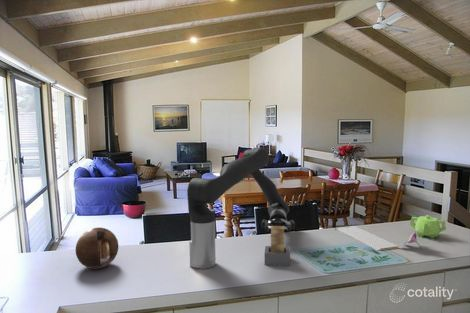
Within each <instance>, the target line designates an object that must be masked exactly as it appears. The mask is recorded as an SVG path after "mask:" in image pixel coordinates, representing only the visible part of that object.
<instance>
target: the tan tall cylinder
mask: <svg viewBox="0 0 470 313" xmlns="http://www.w3.org/2000/svg"><path fill="white" fill-rule="evenodd" d="M270 246H271V252H282V253H284V247H285V229H284V226H271V229H270Z"/></svg>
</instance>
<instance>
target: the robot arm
mask: <svg viewBox="0 0 470 313" xmlns="http://www.w3.org/2000/svg"><path fill="white" fill-rule="evenodd" d="M269 162H270V153H269V152H268V150H267V149H266V148H264V147H256V148H249V149H246V150H244V152H243V153H242V157H241V158H237V159H233V160H232V161H230V162H228V163H226V164H225V165H224V166H222V168H221V169H220V172H219V176H217V177H215V178H203V177H193V178H192V179H191V180H190V181H189V183H188V185H187V189H186V190H187V191H186V192H187V208H188V215H189V217H190V241H189V266H190V268H191V267H193V268H195V269H200V270H205V269H206V270H207V269H209V268H212V267H214V266H216V259H217V258H216V214H215V212H214V211H213V210H212V209H211V208H209V207H208V206H207V205H211V204H212V203H215V202H217V201H218V200H219V199H220V198H221V197H222V196H223V195H224V194H225V193H227V191H229V190H230V189H231V188H233V187H234V186H236V185H237V184H239V183H240V182H242V181H243V180H245V178H247V177H249V176H250V175H251V176H252V178H253V179H254V180H255V182H256V183H257V185H258V186H259V188H260V189H261V191H262V193H263V195H264V196H263V197H264V198H265V201H266V202H267V203H268V204H270V205H269V206H268V207H267V212H268V214H269V220H267V219H266V218H263V219H262V220H261V223H260V224H261V225H260V226H261V229H264V230H265V231H266V232H269V229H270V230H271V226H284V230H287V233H289V232H291V230H295V229H296V226H295V225H296V222H295V221H294V219H291V220H289V221H288V219H287V215H288V214H289V212H290V207H289V204H288V203H287V202H286V201H285V199H284V198H283V197H282V196H281V195H280V193H279V191H278V188H277V186H276V185H275V183H274V182H273V181H272V180H271V179H270V178H269V177H268V176H267V175H265V174H264V173H263V172H262V171H261V170H260V169H262V168H264V167H266V166H267V164H269ZM206 204H207V205H206Z"/></svg>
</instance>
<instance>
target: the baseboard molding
mask: <svg viewBox="0 0 470 313" xmlns="http://www.w3.org/2000/svg"><path fill="white" fill-rule="evenodd" d="M336 231H339V232H341V233H342V234H344V235H346V236H348V237H350V238H352V239H354V240H355V241H358V242H359V243H362V244H363V245H366V246H367V247H369V248H371V247H372V248H371V249H373V250H375V251H377V252H379V251H378V250H380V251H387V250H394V249H395V250H396V249H399V245H397V244H395V243H393V242H390V241H387V240H385V239H384V238H382V237H379V236H377V235H375V234H374V233H370V232H369V231H367V230H364V229H362V228H360V227H358V226H356V225H355V224H353V225H352V226H351V225H348V226H347V223H345V224H344V226H343V227H342V226H338V228H336Z"/></svg>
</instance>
